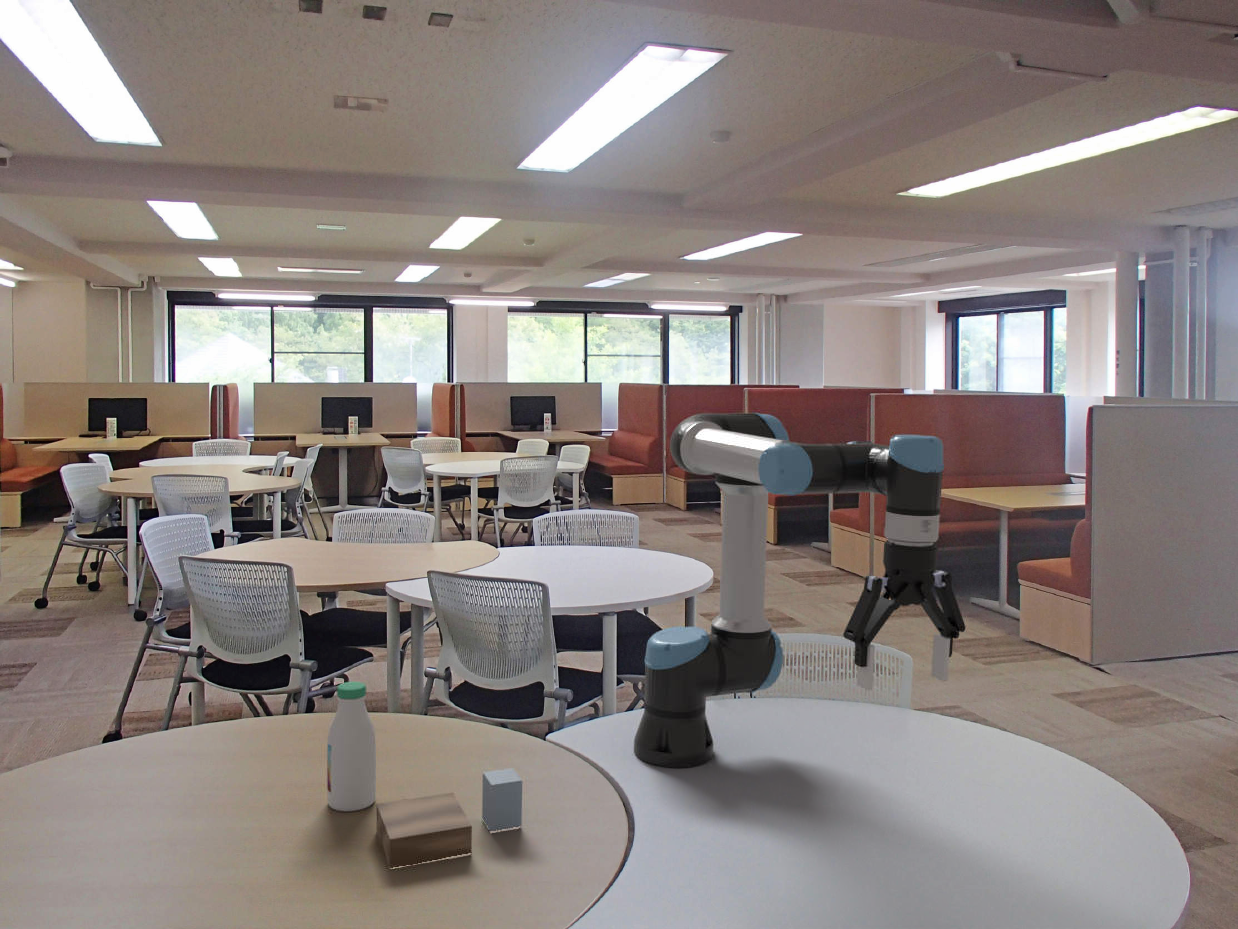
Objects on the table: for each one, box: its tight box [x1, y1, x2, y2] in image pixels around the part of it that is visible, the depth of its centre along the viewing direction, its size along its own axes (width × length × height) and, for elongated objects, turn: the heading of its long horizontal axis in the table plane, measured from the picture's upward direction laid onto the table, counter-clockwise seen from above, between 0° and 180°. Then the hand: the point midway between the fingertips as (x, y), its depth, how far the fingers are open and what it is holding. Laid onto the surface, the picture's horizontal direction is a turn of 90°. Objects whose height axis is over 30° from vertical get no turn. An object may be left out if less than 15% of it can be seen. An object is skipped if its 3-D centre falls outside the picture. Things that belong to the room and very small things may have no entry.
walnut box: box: [376, 792, 473, 868], centre depth 150 cm, size 12×12×5 cm
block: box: [481, 767, 523, 831], centre depth 156 cm, size 5×5×8 cm
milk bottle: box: [326, 681, 377, 812], centre depth 162 cm, size 8×8×20 cm
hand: (902, 683), depth 145 cm, fingers open, 13 cm apart
